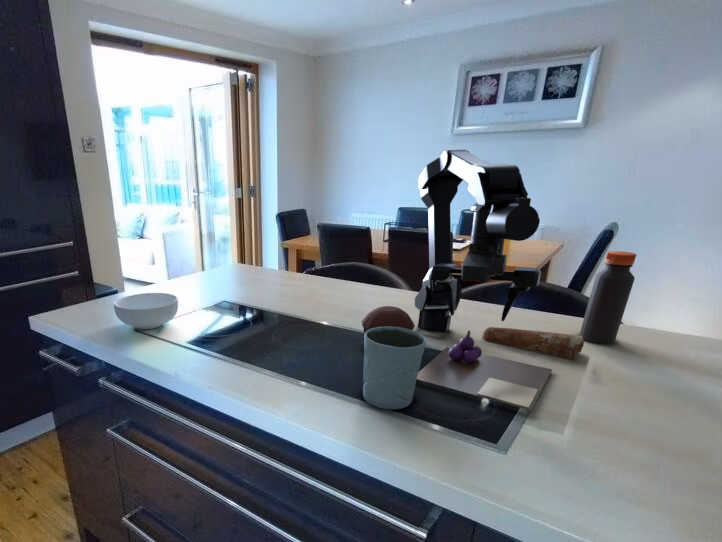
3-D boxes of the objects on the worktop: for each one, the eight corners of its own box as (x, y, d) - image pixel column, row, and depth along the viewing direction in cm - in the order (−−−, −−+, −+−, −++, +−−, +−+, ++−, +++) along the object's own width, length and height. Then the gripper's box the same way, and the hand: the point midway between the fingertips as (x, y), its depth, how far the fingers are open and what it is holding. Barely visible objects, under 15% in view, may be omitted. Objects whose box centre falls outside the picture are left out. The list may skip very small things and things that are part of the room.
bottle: (608, 335, 105) (634, 250, 97) (619, 345, 99) (648, 256, 91) (575, 332, 107) (598, 249, 99) (584, 342, 101) (609, 255, 93)
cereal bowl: (192, 320, 122) (190, 296, 120) (149, 339, 110) (145, 312, 107) (148, 312, 131) (145, 288, 128) (103, 328, 118) (99, 303, 115)
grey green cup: (355, 385, 84) (359, 326, 80) (408, 384, 84) (415, 325, 79) (365, 412, 75) (371, 347, 70) (425, 412, 75) (435, 346, 70)
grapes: (445, 360, 91) (450, 331, 89) (454, 351, 95) (459, 324, 93) (474, 366, 88) (479, 337, 85) (482, 357, 92) (487, 329, 89)
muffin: (371, 338, 107) (374, 298, 103) (417, 347, 101) (423, 305, 97) (351, 354, 98) (354, 311, 94) (400, 365, 92) (405, 320, 88)
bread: (576, 366, 89) (583, 341, 87) (478, 344, 102) (482, 321, 99) (582, 357, 94) (589, 332, 91) (487, 337, 106) (491, 314, 104)
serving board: (411, 383, 84) (412, 376, 84) (446, 351, 98) (447, 345, 98) (529, 416, 72) (531, 409, 72) (550, 374, 86) (552, 368, 86)
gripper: (424, 239, 82) (416, 320, 87) (541, 241, 71) (526, 334, 76) (440, 235, 90) (432, 309, 95) (547, 237, 80) (533, 320, 85)
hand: (476, 317), depth 88 cm, fingers open, 9 cm apart
